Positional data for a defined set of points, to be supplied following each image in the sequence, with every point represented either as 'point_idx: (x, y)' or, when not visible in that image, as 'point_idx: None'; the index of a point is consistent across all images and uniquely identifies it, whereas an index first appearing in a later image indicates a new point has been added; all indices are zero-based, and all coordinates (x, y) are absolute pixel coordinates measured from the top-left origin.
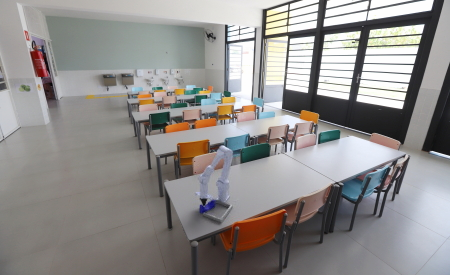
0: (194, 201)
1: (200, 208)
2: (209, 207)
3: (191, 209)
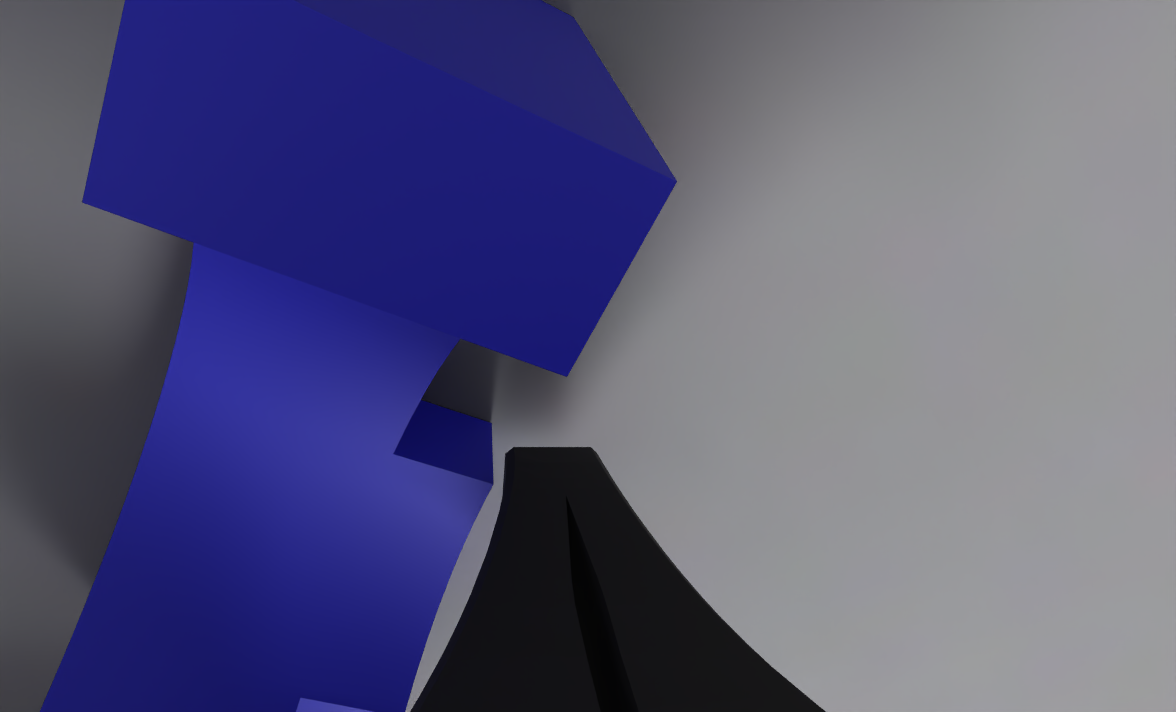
0: (1039, 511)
1: (491, 26)
2: (177, 473)
3: (1076, 14)
